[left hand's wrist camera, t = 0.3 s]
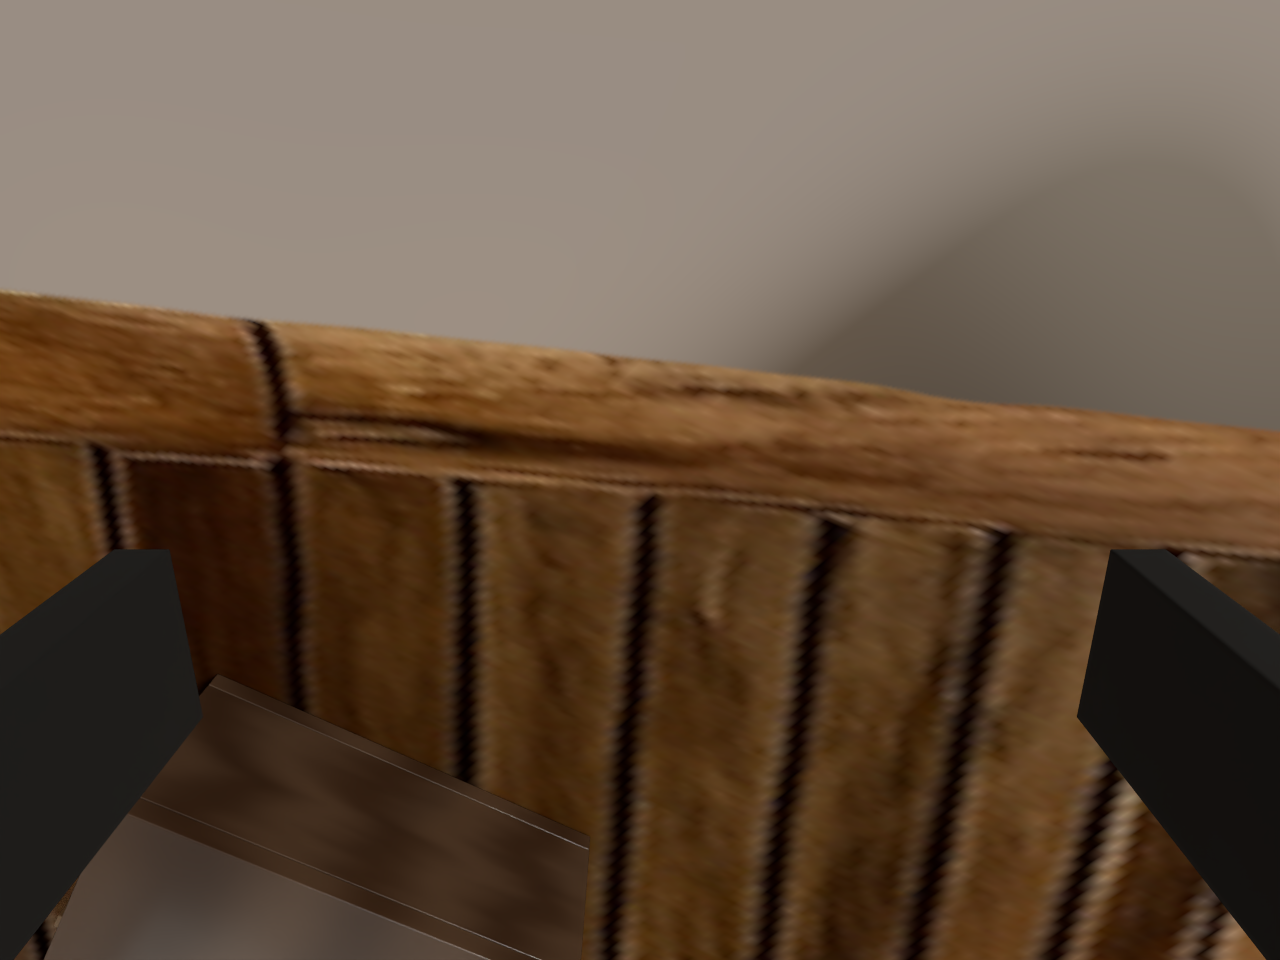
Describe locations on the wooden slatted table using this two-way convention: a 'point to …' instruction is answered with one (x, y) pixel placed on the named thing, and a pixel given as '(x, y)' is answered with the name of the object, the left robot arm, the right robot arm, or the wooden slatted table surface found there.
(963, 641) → the wooden slatted table surface
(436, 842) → the cabinet
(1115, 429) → the wooden slatted table surface
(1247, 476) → the wooden slatted table surface
